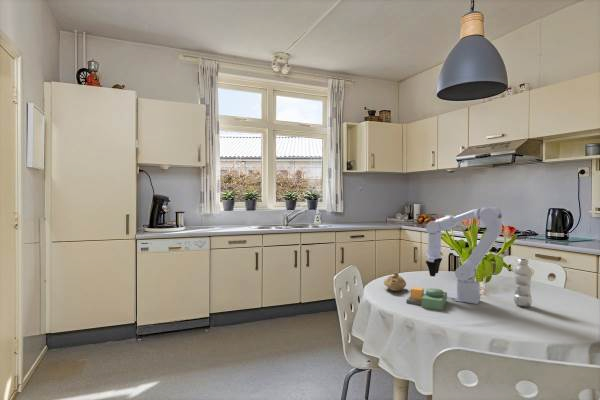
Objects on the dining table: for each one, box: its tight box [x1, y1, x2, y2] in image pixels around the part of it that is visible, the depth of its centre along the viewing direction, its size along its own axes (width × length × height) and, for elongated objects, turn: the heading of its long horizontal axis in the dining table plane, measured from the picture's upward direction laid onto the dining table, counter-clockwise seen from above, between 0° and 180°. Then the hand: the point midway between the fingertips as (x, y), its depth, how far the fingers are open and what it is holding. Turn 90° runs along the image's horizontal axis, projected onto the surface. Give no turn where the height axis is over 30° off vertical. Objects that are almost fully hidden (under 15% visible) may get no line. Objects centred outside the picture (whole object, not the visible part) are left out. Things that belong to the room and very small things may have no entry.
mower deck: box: [405, 287, 448, 311], centre depth 158 cm, size 15×14×6 cm
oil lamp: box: [383, 271, 407, 292], centre depth 179 cm, size 11×15×8 cm
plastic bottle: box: [513, 258, 533, 308], centre depth 153 cm, size 6×7×20 cm
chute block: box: [410, 286, 425, 301], centre depth 160 cm, size 5×4×6 cm
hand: (434, 274), depth 171 cm, fingers open, 7 cm apart
